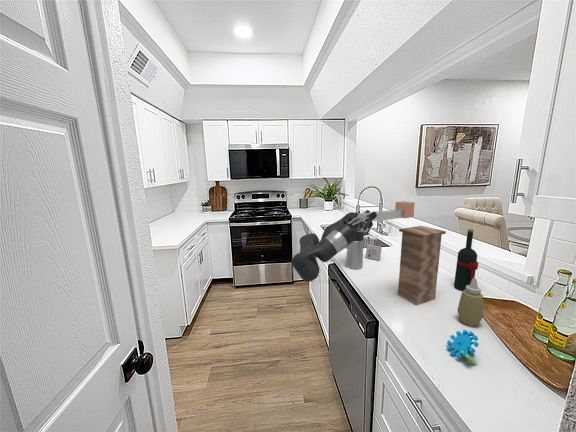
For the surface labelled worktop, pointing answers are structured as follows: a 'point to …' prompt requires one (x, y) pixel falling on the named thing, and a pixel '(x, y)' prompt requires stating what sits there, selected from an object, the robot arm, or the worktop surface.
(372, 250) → the electrical switch
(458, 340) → the blue flower
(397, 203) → the copper head mallet
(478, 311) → the squeeze bottle
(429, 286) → the shelf post
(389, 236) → the worktop surface
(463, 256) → the wine bottle
